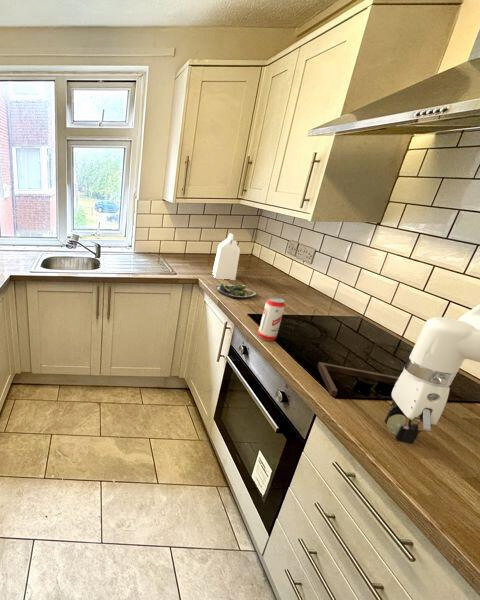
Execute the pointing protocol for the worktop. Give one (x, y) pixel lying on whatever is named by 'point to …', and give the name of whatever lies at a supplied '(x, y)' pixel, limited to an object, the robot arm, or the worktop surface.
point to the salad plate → (235, 291)
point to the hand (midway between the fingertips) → (398, 431)
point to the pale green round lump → (396, 423)
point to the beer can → (271, 318)
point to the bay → (349, 371)
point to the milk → (226, 259)
